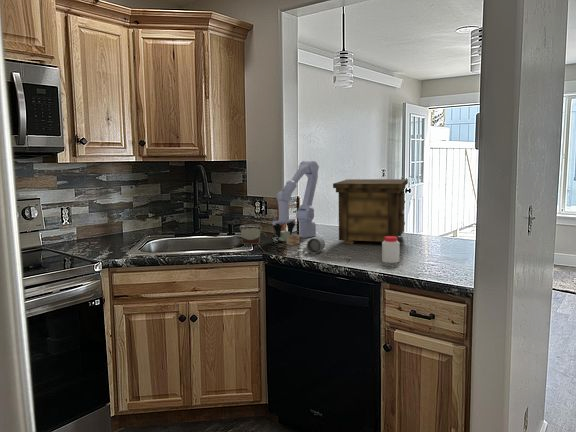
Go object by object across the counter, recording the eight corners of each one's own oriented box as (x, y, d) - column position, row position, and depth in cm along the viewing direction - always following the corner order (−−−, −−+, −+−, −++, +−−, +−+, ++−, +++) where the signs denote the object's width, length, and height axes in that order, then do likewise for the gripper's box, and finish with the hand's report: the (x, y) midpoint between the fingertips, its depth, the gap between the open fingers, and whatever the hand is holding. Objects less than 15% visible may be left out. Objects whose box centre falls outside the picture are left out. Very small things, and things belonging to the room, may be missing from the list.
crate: (347, 233, 288) (346, 179, 284) (407, 236, 277) (407, 179, 273) (333, 245, 255) (333, 183, 251) (401, 248, 244) (401, 183, 240)
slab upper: (293, 238, 264) (293, 234, 264) (299, 239, 260) (299, 235, 260) (286, 239, 261) (286, 235, 261) (292, 241, 257) (292, 236, 257)
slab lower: (293, 243, 265) (293, 238, 264) (299, 244, 261) (299, 239, 260) (286, 244, 262) (286, 239, 262) (292, 245, 258) (291, 241, 258)
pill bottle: (379, 259, 220) (379, 235, 219) (396, 258, 221) (396, 235, 219) (384, 263, 212) (384, 238, 211) (401, 262, 213) (402, 238, 212)
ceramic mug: (325, 250, 242) (325, 235, 241) (321, 254, 234) (320, 238, 233) (305, 250, 245) (305, 235, 244) (300, 253, 238) (300, 238, 237)
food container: (263, 241, 269) (263, 224, 268) (262, 243, 263) (261, 225, 262) (242, 241, 270) (241, 224, 269) (239, 243, 264) (239, 226, 263)
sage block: (285, 239, 276) (285, 230, 275) (290, 240, 272) (289, 231, 272) (279, 240, 273) (278, 231, 272) (283, 241, 270) (283, 232, 269)
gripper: (289, 210, 278) (290, 233, 280) (269, 213, 269) (269, 236, 271) (297, 211, 272) (297, 235, 274) (276, 214, 264) (277, 238, 266)
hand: (284, 236), depth 272 cm, fingers open, 7 cm apart
